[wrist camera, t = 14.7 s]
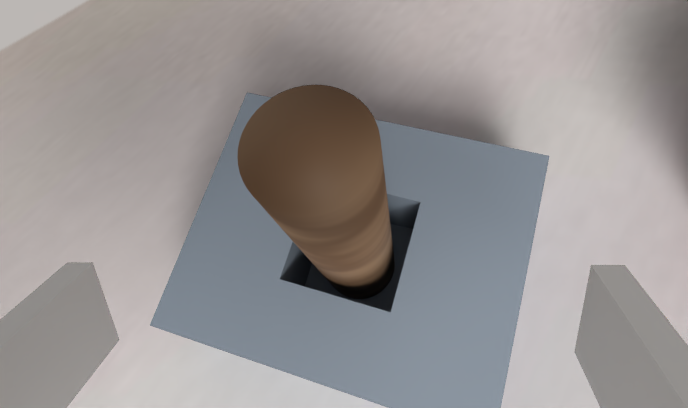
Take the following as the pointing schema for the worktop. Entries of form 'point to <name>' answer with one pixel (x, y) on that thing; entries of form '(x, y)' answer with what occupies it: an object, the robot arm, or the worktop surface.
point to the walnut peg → (323, 183)
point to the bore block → (399, 295)
